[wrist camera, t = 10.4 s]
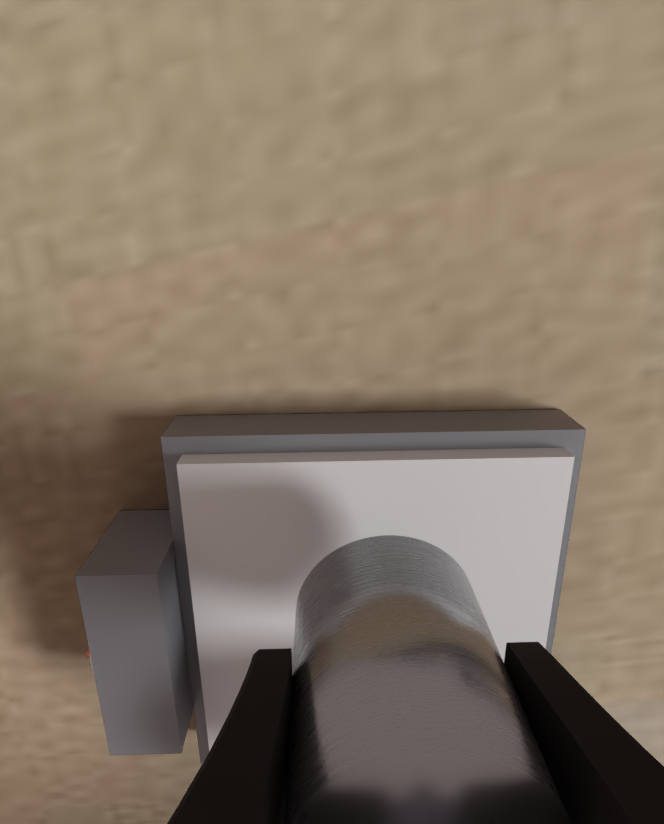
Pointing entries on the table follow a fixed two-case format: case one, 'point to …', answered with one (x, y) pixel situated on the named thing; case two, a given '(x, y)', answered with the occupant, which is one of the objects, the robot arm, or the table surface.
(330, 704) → the cylinder
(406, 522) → the scale
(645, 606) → the table surface
